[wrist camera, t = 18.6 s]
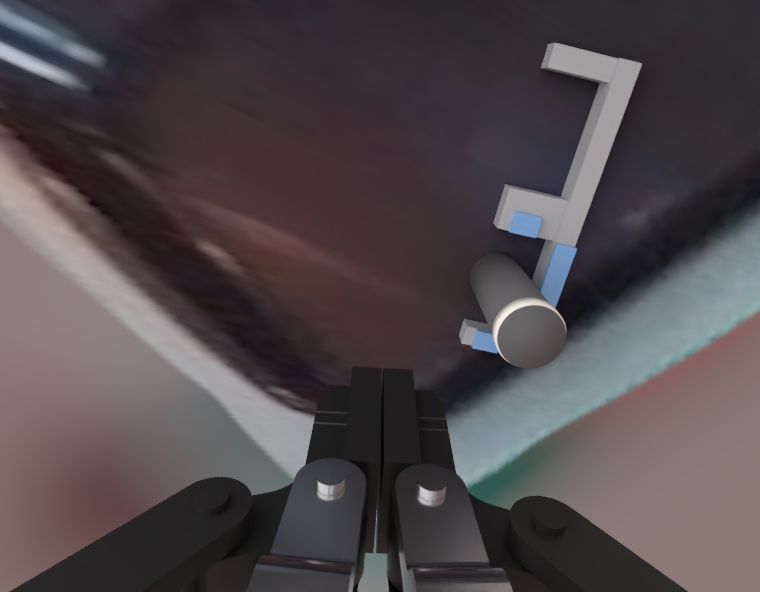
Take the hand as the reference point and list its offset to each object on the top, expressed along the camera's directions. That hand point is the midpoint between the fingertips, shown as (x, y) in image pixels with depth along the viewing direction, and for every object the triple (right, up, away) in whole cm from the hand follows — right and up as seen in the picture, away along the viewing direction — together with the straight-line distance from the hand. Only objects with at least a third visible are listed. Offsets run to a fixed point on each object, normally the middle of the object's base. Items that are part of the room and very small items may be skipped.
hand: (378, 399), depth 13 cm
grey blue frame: (+12, +9, +27) cm, 30 cm away
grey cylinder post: (+9, +4, +28) cm, 30 cm away
